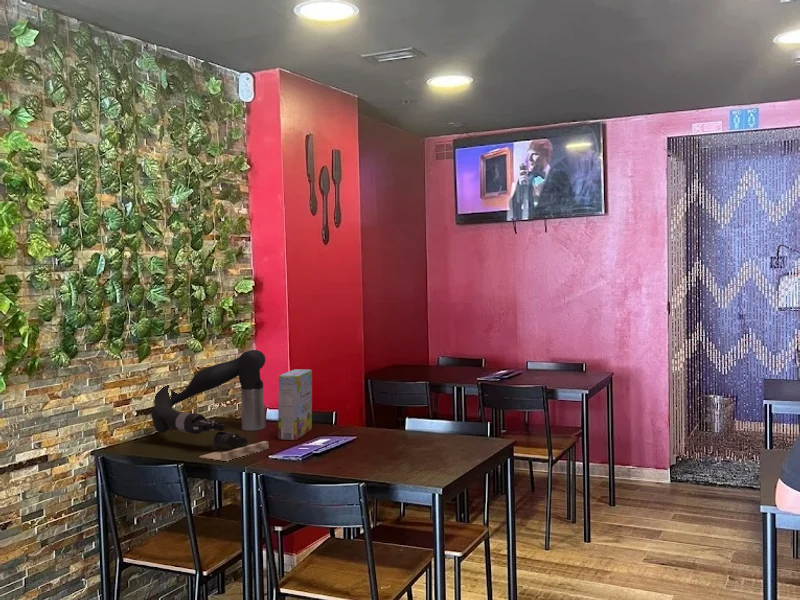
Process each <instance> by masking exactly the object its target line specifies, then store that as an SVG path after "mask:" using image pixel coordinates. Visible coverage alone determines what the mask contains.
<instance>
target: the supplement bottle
mask: <svg viewBox="0 0 800 600" xmlns="http://www.w3.org/2000/svg"><path fill="white" fill-rule="evenodd" d="M248 441H249V440H248V439H247V438H246V437H243V436H242V435H241V434H239V433H236V432H230V431H229V432H228V431H223V430H222V431H218V432H217V433H216V434H214V437H213V442H212V443H213V446H214V449H216V450H217V451H220V450H223V451H230V450H234V449H237V448H241V447H244V446H247V445H249V444H248Z"/></svg>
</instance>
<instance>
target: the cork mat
mask: <svg viewBox="0 0 800 600" xmlns="http://www.w3.org/2000/svg"><path fill="white" fill-rule="evenodd" d="M248 445H249V444H248ZM248 445H247V446H248ZM223 452H226V451H223V450H217V451H213V452H210V453H206V454H203V455H199V457H198V458H200V459H205V458H206V459H205V460H210V459H213V460H212V461H216V460H221V453H223Z"/></svg>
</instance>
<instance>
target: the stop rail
mask: <svg viewBox="0 0 800 600" xmlns="http://www.w3.org/2000/svg"><path fill="white" fill-rule="evenodd" d="M269 448H270V447H269V441H266V440H263V441H260V442H256V443H252V444H248V446H244V447H241V448H237V449H234V450H230V451H226V452H223V453H221V461H220V462H222V461H227V462H230V461H229V460H231V461H233V460H232V459H234V460H236V459H235V458H238V459H240V458H239V457H241V458H243V457H242V456H245V457H247V456H246V455H248V456H251V455H254V454H253V453H255V454H257V453H256V452H258V453H261V452H260V451H262V452H264V451H263V450H265V451H267V450H266V449H269ZM250 454H251V455H250Z"/></svg>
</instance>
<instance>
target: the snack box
mask: <svg viewBox="0 0 800 600" xmlns="http://www.w3.org/2000/svg"><path fill="white" fill-rule="evenodd" d="M312 406H313V370H312V369H300V368H299V369H298V368H295V369H292V370H289V371H287V372H285V373H281V374H280V375H278V407H277V408H278V411H277V412H278V415H277V416H278V417H277V418H278V424H277V425H278V428H277V430H278V431H277V432H278V434H277V438H278V440H282V441H283V440H284V441H297V440H299V439H300V438H302V437H303V436H305V435H306V434H307V433H309V432H310V431H312V430H311V429H312V427H313V424H312V423H313V417H312V416H313V415H312V414H313V410H312V409H313V407H312Z"/></svg>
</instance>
